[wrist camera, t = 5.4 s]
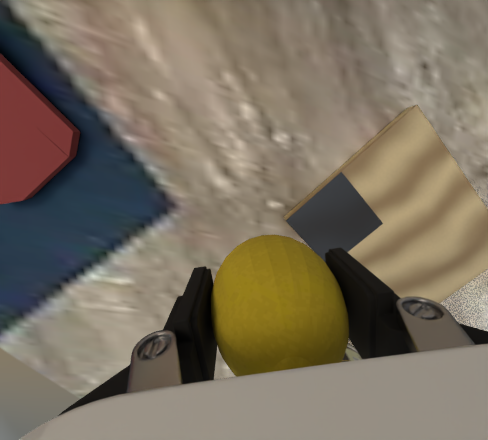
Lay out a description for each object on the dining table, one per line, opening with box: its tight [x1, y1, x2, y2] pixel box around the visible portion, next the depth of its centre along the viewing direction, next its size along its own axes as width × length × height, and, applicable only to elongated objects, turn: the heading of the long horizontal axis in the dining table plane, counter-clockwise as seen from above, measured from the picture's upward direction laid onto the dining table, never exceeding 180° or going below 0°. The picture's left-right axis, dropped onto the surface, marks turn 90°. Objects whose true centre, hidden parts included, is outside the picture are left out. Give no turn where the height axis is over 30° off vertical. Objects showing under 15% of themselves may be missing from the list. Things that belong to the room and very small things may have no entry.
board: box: [284, 105, 488, 303], centre depth 27 cm, size 22×18×2 cm
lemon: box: [211, 235, 349, 377], centre depth 10 cm, size 6×6×8 cm
